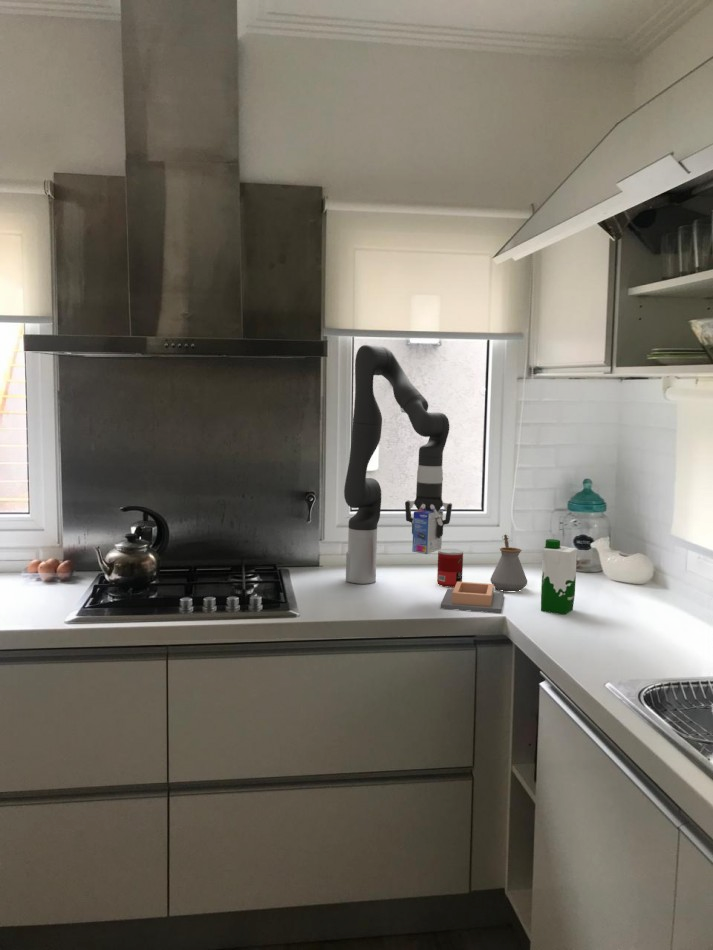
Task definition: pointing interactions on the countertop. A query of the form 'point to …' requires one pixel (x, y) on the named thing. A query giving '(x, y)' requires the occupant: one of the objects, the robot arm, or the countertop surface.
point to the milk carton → (558, 577)
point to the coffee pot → (509, 570)
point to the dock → (473, 597)
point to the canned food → (449, 567)
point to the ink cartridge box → (426, 532)
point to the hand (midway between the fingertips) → (427, 536)
